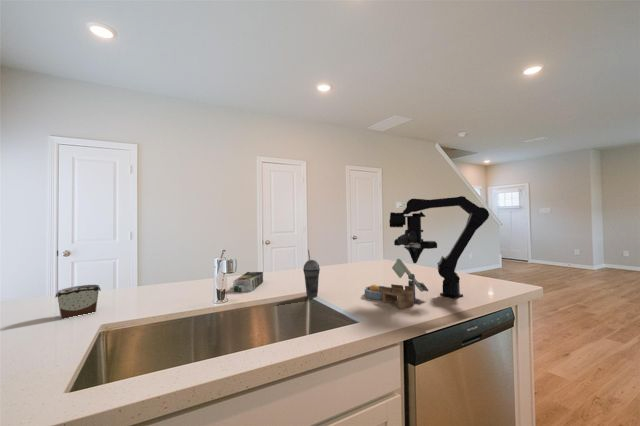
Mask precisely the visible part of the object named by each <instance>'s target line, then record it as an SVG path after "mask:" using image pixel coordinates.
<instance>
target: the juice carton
mask: <svg viewBox="0 0 640 426" xmlns="http://www.w3.org/2000/svg"><path fill="white" fill-rule="evenodd" d="M263 282H264V272H263V271H252V272H251V271H246V272H245V273H244V274H242V275H241V276H239V277H237V278H236V279H234V280H233V281H232V283H233V284H232V286H233V287H232V290H233V293H234V292H235V293H236V292H242V293H245V292H246V293H247V292H249V293H250V292H251V293H252V292H253V291H255V290H256V289H257V288H258V287H260V285H262V284H263Z"/></svg>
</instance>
